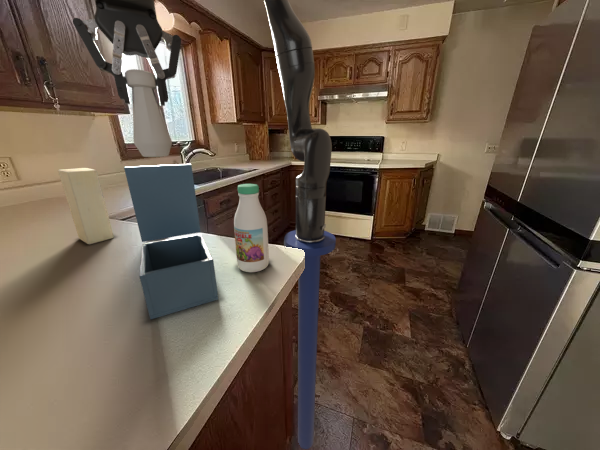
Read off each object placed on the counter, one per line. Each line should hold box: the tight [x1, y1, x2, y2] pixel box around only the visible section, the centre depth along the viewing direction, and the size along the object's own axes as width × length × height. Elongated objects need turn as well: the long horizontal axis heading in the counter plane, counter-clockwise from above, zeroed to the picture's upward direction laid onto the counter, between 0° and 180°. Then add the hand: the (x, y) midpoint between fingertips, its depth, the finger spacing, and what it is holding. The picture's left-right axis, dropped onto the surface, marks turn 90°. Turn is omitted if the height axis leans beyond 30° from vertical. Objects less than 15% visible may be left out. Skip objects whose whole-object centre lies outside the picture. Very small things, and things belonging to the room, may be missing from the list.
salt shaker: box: [124, 68, 173, 158], centre depth 41 cm, size 6×6×13 cm
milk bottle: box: [233, 183, 270, 273], centre depth 57 cm, size 8×8×20 cm
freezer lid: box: [123, 163, 202, 243], centre depth 53 cm, size 15×12×5 cm
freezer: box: [138, 233, 219, 320], centre depth 50 cm, size 15×12×9 cm
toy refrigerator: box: [57, 167, 114, 245], centre depth 73 cm, size 8×7×21 cm
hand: (145, 104), depth 40 cm, fingers closed on salt shaker, 4 cm apart
